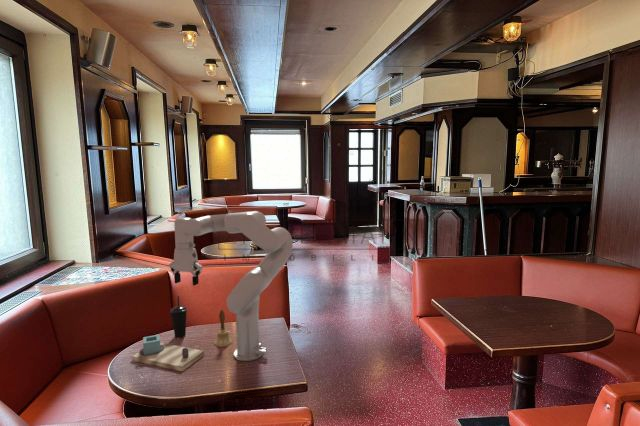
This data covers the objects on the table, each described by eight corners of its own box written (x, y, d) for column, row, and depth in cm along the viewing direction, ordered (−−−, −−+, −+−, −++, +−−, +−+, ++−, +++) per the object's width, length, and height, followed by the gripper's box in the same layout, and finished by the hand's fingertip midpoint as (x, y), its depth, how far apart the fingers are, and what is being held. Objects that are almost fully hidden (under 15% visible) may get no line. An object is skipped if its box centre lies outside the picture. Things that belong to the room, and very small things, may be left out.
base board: (204, 355, 163) (203, 342, 162) (182, 371, 150) (181, 357, 149) (155, 345, 172) (154, 333, 172) (130, 360, 159) (129, 346, 158)
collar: (160, 345, 168) (159, 334, 167) (160, 351, 162) (159, 340, 162) (143, 348, 165) (143, 337, 165) (143, 354, 159) (143, 343, 159)
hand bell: (229, 346, 171) (228, 313, 169) (211, 346, 171) (210, 313, 169) (234, 338, 179) (233, 306, 177) (217, 338, 179) (215, 306, 177)
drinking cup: (168, 337, 180) (166, 297, 178) (180, 331, 187) (178, 292, 185) (179, 340, 177) (177, 300, 175) (191, 334, 184) (189, 295, 181)
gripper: (206, 245, 164) (208, 283, 166) (174, 243, 170) (176, 279, 172) (195, 248, 157) (197, 288, 159) (162, 246, 163) (164, 284, 165)
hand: (186, 283), depth 166 cm, fingers open, 9 cm apart
